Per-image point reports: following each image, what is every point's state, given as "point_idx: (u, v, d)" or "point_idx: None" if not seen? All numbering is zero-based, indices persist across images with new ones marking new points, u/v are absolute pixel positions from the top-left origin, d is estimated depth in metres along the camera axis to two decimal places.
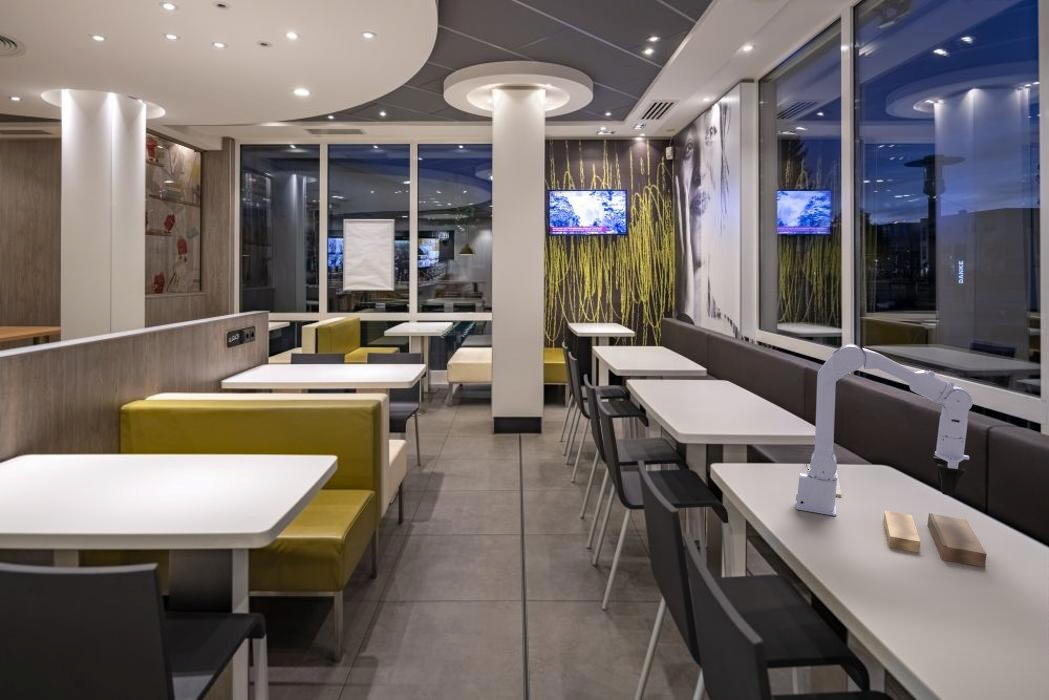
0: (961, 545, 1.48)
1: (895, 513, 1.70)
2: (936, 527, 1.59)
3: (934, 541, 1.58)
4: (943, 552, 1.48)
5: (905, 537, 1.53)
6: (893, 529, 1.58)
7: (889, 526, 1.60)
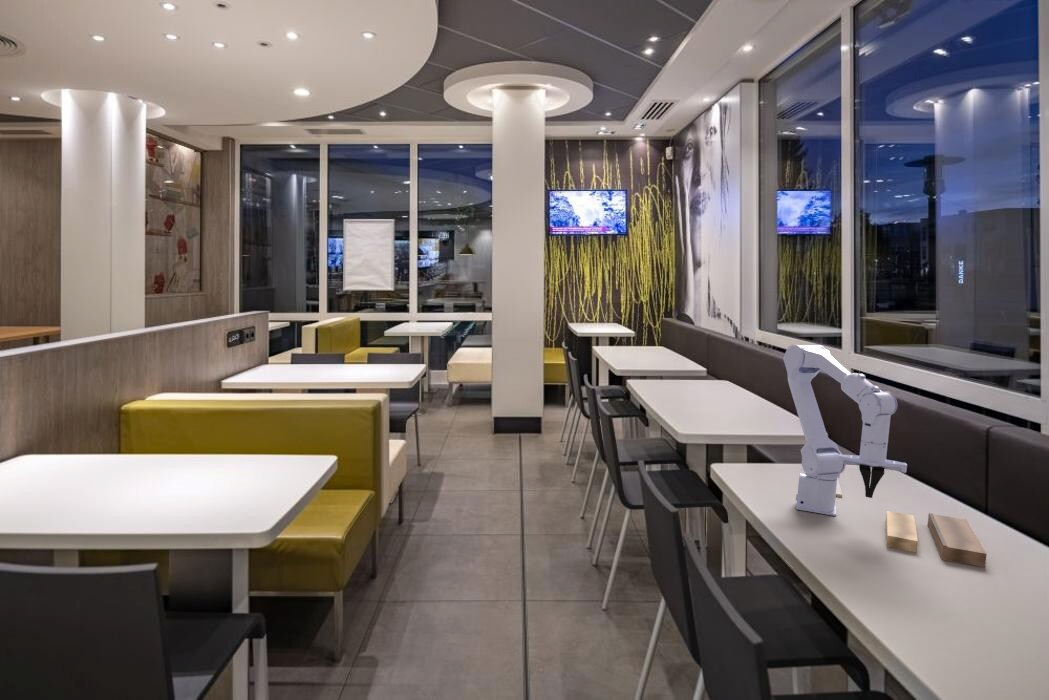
0: (961, 545, 1.48)
1: (897, 513, 1.69)
2: (936, 527, 1.59)
3: (934, 541, 1.58)
4: (943, 552, 1.48)
5: (903, 537, 1.53)
6: (892, 529, 1.58)
7: (888, 526, 1.60)
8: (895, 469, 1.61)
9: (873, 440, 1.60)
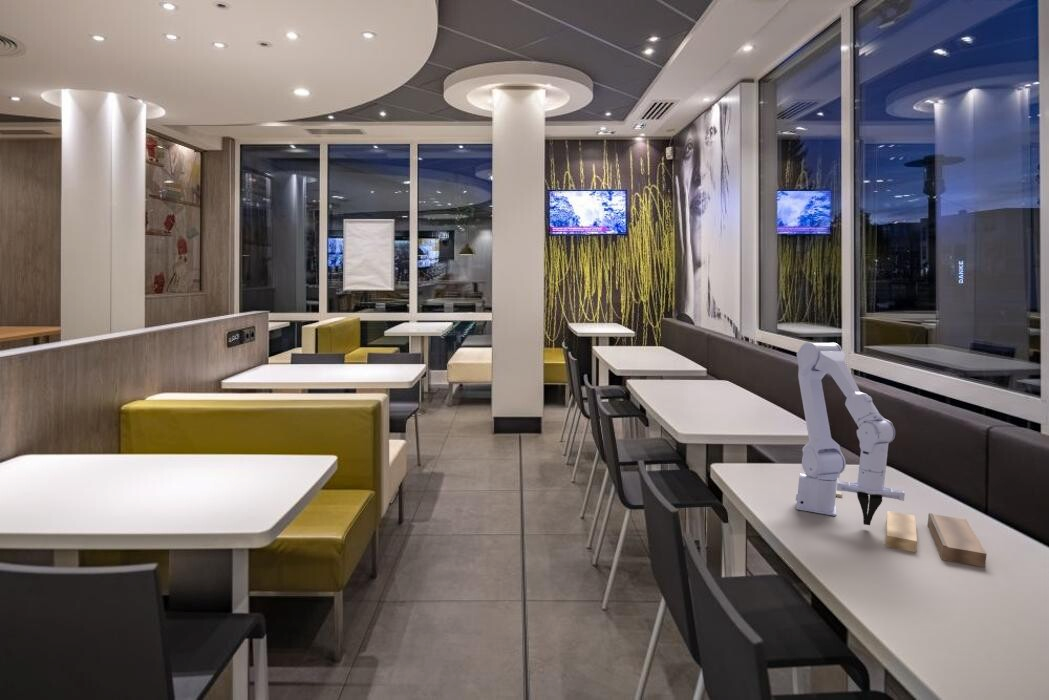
0: (961, 545, 1.48)
1: (898, 513, 1.69)
2: (936, 527, 1.59)
3: (934, 541, 1.58)
4: (943, 552, 1.48)
5: (902, 536, 1.53)
6: (891, 529, 1.58)
7: (888, 526, 1.60)
8: (893, 497, 1.61)
9: (871, 468, 1.60)
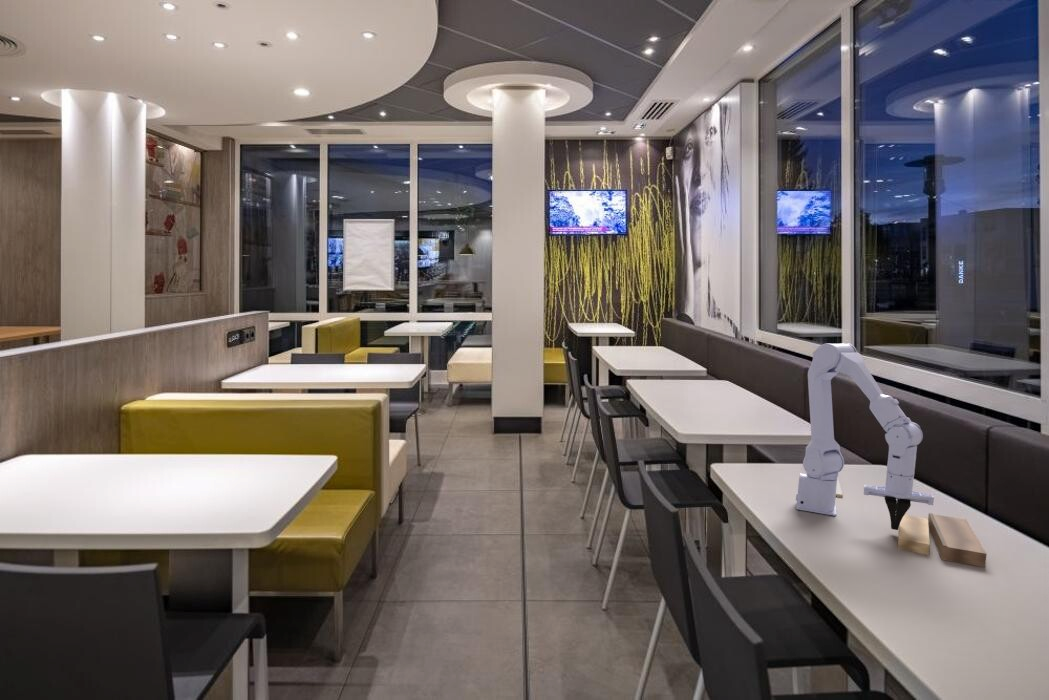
0: (961, 545, 1.48)
1: (911, 517, 1.68)
2: (936, 527, 1.59)
3: (934, 541, 1.58)
4: (943, 552, 1.48)
5: (914, 540, 1.52)
6: (904, 532, 1.57)
7: (901, 529, 1.59)
8: (921, 501, 1.59)
9: (902, 472, 1.58)
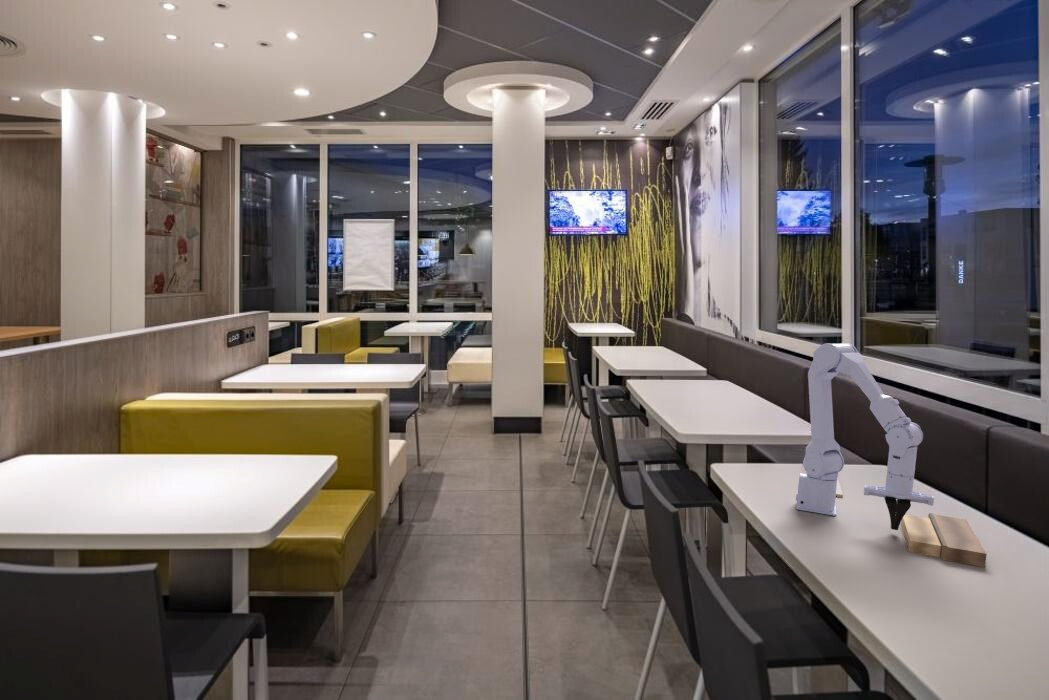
0: (961, 545, 1.48)
1: (913, 516, 1.68)
2: (936, 527, 1.59)
3: None
4: (943, 552, 1.48)
5: (925, 541, 1.51)
6: (913, 534, 1.56)
7: (908, 530, 1.58)
8: (921, 502, 1.59)
9: (903, 473, 1.58)
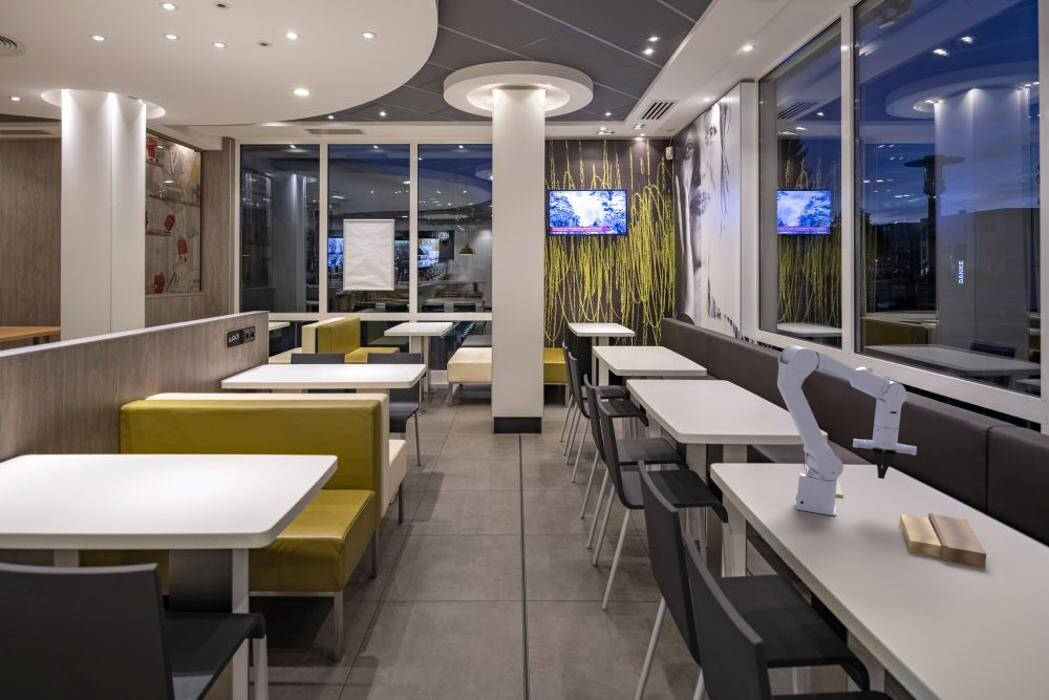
0: (961, 545, 1.48)
1: (911, 516, 1.68)
2: (936, 527, 1.59)
3: None
4: (943, 552, 1.48)
5: (926, 541, 1.51)
6: (912, 533, 1.56)
7: (908, 530, 1.58)
8: (906, 452, 1.74)
9: (897, 425, 1.73)
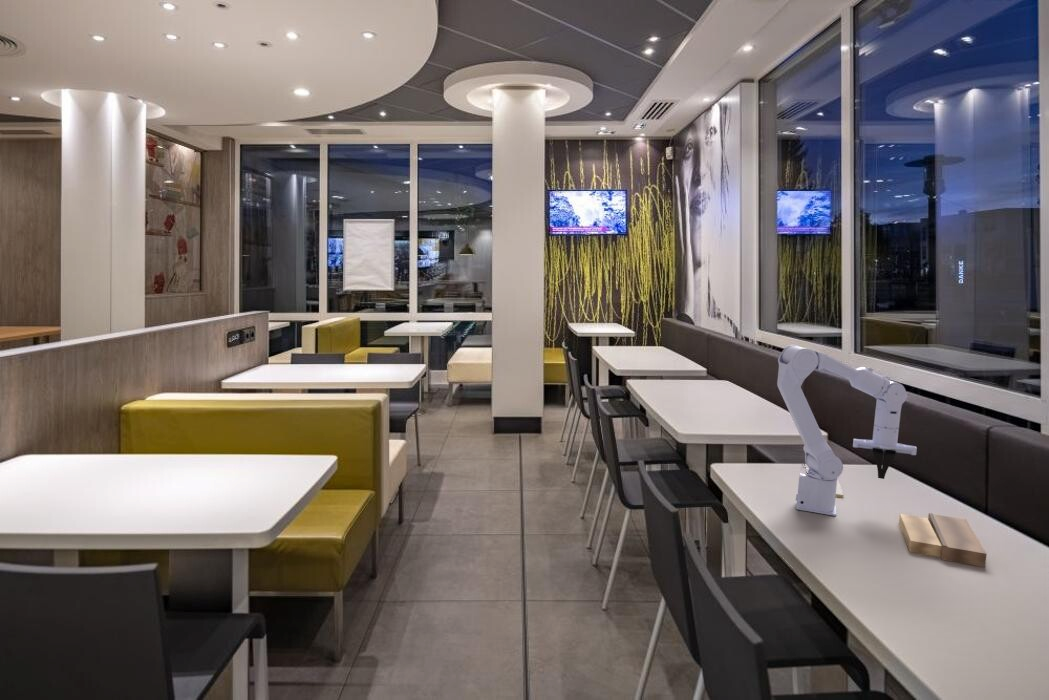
0: (961, 545, 1.48)
1: (911, 516, 1.68)
2: (936, 527, 1.59)
3: None
4: (943, 552, 1.48)
5: (926, 541, 1.51)
6: (912, 534, 1.56)
7: (908, 530, 1.58)
8: (906, 452, 1.74)
9: (897, 425, 1.73)
